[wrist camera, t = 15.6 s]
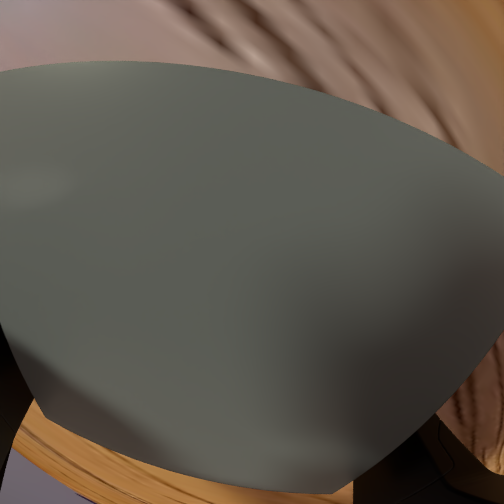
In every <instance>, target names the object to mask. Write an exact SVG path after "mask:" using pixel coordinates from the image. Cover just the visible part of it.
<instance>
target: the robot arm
mask: <svg viewBox="0 0 504 504" xmlns="http://www.w3.org/2000/svg"><path fill="white" fill-rule="evenodd" d="M33 399H34V396H33V395H32V393H31V391H30V389H29V387H28V385H27V383H26V381H25V379H24V377H23V375H22V373H21V371H20V369H19V367H18V365H17V362H16V360H15V358H14V356H13V353H12V351H11V349H10V346H9V344H8V341H7V339H6V336H5V334H4V331H3V329H2V326H1V323H0V490H1V486H2V481H3V477H4V473H5V468H6V465H7V461H8V457H9V454H10V450H11V447H12V443H13V440H14V438H15V435H16V433H17V431H18V429H19V427H20V425H21V423H22V421H23V419H24V417H25V415H26V413H27V411H28V409H29V407H30V405H31V403H32V401H33ZM353 504H504V475H499V474H496V473H494V472H492V471H490V470H489V469H487V468H486V467H485V466H484V465H483V464H482V463H481V462H480V461H479V460H478V459H477V458H476V457H475V456H474V455H473V454H472V453H471V452H470V451H469V450H468V449H467V448H466V447H465V446H464V445H463V444H462V443H461V442H460V441H459V440H458V439H457V438H456V436H455V435H454V434H453V433H452V432H451V431H450V430H449V429H448V427H447V426H446V425H445V424H444V423H443V422H442V420H440V418H439V417H438V416H437V415H436V413H434V414H433V415H432V416H431V417H430V418H429V419H428V420H427V421H426V422H425V423H424V424H423V425H422V426H421V427H420V428H419V429H418V430H417V431H415V432H414V433H413V434H412V435H411V436H410V437H409V438H408V439H406V440H405V441H404V442H403V443H402V444H401V445H399V446H398V447H397V448H396V449H395V450H393V451H392V452H391V453H390V454H388V455H387V456H386V457H385V458H383V459H382V460H381V461H379V462H378V463H377V464H375V465H374V466H373V467H371V468H370V469H369V470H367V471H366V472H365V473H363V474H362V475H360V476H359V477H357V478H356V479H354V480H353Z"/></svg>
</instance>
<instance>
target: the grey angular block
mask: <svg viewBox="0 0 504 504" xmlns="http://www.w3.org/2000/svg"><path fill="white" fill-rule="evenodd" d="M0 323H1V326H2V329H3V331H4V334H5V336H6V339H7V341H8V344H9V346H10V349H11V351H12V353H13V356H14V358H15V360H16V362H17V365H18V367H19V369H20V371H21V373H22V375H23V377H24V379H25V381H26V383H27V385H28V387H29V389H30V391H31V393H32V395H33V396H34V398H35V400H36V402H37V404H38V405H39V407H40V409H41V411H42V412H43V414H44V416H45V417H46V418H47V419H49V420H51V421H52V422H54V423H56V424H58V425H60V426H62V427H64V428H65V429H67V430H69V431H71V432H73V433H75V434H77V435H79V436H81V437H83V438H85V439H88V440H90V441H92V442H94V443H96V444H99V445H101V446H103V447H105V448H108V449H110V450H113V451H115V452H117V453H120V454H123V455H125V456H128V457H130V458H133V459H136V460H139V461H141V462H144V463H147V464H150V465H153V466H156V467H160V468H163V469H166V470H169V471H173V472H176V473H180V474H184V475H187V476H191V477H195V478H200V479H204V480H208V481H213V482H218V483H223V484H228V485H234V486H239V487H246V488H252V489H260V490H268V491H278V492H289V493H305V494H333V493H334V492H336V491H338V490H339V489H341V488H342V487H344V486H345V485H347V484H349V483H350V482H352V481H353V480H354V479H356V478H357V477H359V476H360V475H362V474H363V473H365V472H366V471H367V470H369V469H370V468H371V467H373V466H374V465H375V464H377V463H378V462H379V461H381V460H382V459H383V458H385V457H386V456H387V455H388V454H390V453H391V452H392V451H393V450H395V449H396V448H397V447H398V446H399V445H401V444H402V443H403V442H404V441H405V440H406V439H408V438H409V437H410V436H411V435H412V434H413V433H414V432H415V431H417V430H418V429H419V428H420V427H421V426H422V425H423V424H424V423H425V422H426V421H427V420H428V419H429V418H430V417H431V416H432V415H433V414H434V413H435V412H436V411H437V410H438V409H439V408H440V407H441V406H442V405H443V404H444V403H445V402H446V401H447V400H448V399H449V398H450V397H451V396H452V395H453V394H454V392H455V391H456V390H457V389H458V388H459V387H460V386H461V385H462V383H463V382H464V381H465V380H466V379H467V378H468V376H469V375H470V374H471V373H472V372H473V370H474V369H475V368H476V367H477V365H478V364H479V363H480V362H481V360H482V359H483V358H484V357H485V355H486V354H487V353H488V351H489V350H490V349H491V347H492V346H493V344H494V343H495V342H496V340H497V339H498V337H499V336H500V335H501V333H502V332H503V330H504V177H503V176H502V175H500V174H499V173H497V172H496V171H494V170H492V169H491V168H489V167H488V166H486V165H484V164H483V163H481V162H479V161H478V160H476V159H474V158H473V157H471V156H469V155H467V154H466V153H464V152H462V151H460V150H458V149H457V148H455V147H453V146H451V145H449V144H447V143H445V142H443V141H441V140H439V139H437V138H435V137H433V136H431V135H429V134H427V133H425V132H423V131H421V130H419V129H417V128H415V127H412V126H410V125H408V124H406V123H403V122H401V121H399V120H396V119H394V118H392V117H389V116H387V115H384V114H382V113H379V112H377V111H374V110H372V109H369V108H366V107H364V106H361V105H358V104H355V103H352V102H350V101H347V100H344V99H341V98H338V97H335V96H331V95H328V94H325V93H322V92H318V91H315V90H312V89H308V88H304V87H301V86H297V85H293V84H289V83H285V82H281V81H277V80H273V79H268V78H264V77H259V76H254V75H249V74H244V73H239V72H233V71H227V70H221V69H214V68H207V67H200V66H191V65H182V64H171V63H158V62H138V61H90V62H71V63H59V64H49V65H40V66H32V67H25V68H19V69H13V70H8V71H2V72H0Z"/></svg>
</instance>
